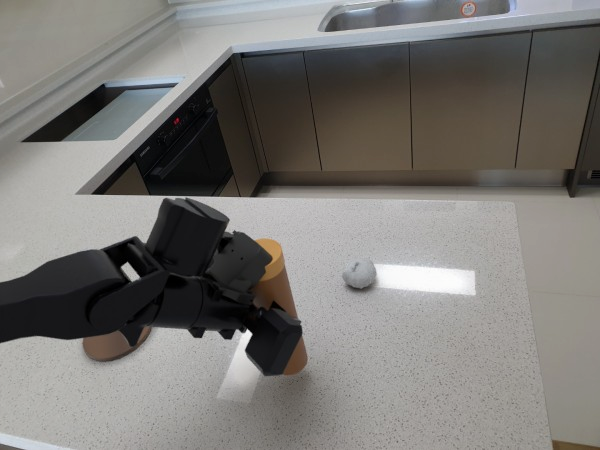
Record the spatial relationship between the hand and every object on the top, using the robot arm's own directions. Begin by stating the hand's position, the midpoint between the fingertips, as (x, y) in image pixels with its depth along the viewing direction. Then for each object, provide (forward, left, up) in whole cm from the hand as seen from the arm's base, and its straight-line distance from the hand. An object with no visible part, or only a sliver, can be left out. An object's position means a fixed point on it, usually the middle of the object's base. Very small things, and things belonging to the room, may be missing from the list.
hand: (286, 313), depth 60 cm
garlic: (+19, +6, -13) cm, 24 cm away
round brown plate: (-16, +31, -13) cm, 37 cm away
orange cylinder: (-1, 0, -9) cm, 9 cm away
